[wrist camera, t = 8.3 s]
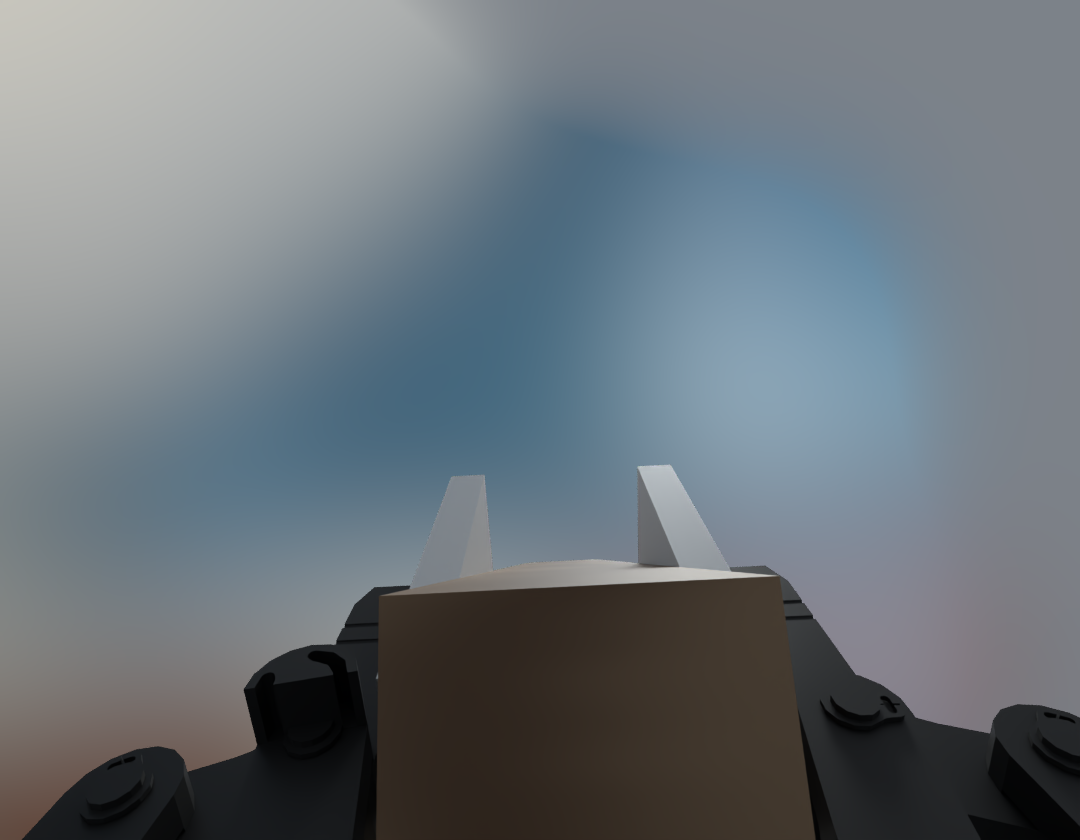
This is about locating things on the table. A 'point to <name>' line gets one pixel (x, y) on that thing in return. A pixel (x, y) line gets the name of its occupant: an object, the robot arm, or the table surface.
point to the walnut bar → (589, 707)
